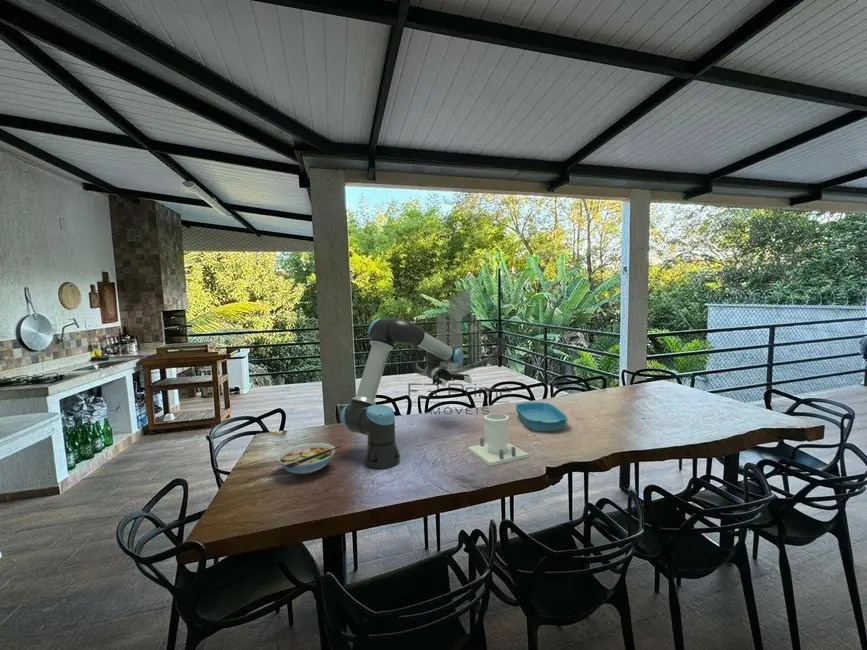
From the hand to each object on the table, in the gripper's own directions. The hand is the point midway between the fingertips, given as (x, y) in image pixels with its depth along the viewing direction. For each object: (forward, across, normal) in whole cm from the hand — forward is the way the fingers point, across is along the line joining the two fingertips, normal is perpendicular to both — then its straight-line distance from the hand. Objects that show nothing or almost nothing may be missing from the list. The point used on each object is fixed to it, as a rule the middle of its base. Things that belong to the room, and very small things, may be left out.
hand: (458, 382), depth 185 cm
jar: (+23, -7, -27) cm, 36 cm away
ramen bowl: (+2, +71, -29) cm, 76 cm away
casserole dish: (-3, -50, -28) cm, 58 cm away
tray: (+23, -7, -28) cm, 37 cm away
